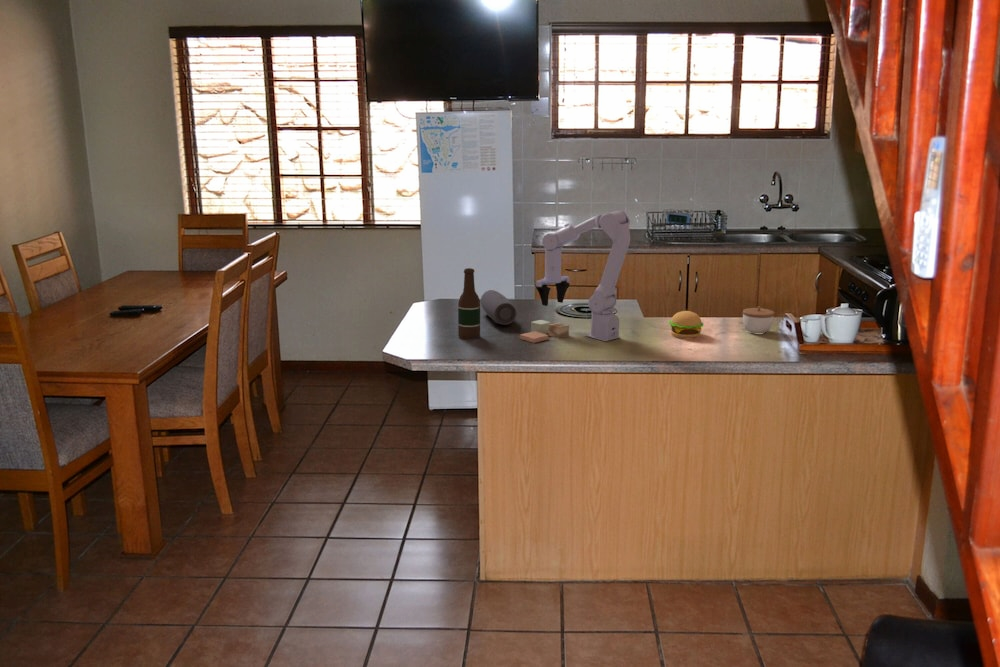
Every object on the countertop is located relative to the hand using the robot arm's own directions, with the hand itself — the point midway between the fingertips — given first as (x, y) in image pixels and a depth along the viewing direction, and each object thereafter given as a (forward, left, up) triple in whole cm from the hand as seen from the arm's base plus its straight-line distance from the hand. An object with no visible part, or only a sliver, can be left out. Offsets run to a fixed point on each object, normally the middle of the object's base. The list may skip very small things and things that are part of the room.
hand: (552, 303), depth 321 cm
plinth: (-7, +15, -9) cm, 19 cm away
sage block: (-2, +7, -9) cm, 12 cm away
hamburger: (-38, -29, -9) cm, 48 cm away
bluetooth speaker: (+21, +7, -9) cm, 25 cm away
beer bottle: (+10, +30, -9) cm, 33 cm away
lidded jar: (-52, -52, -9) cm, 74 cm away
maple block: (-9, +5, -9) cm, 14 cm away
